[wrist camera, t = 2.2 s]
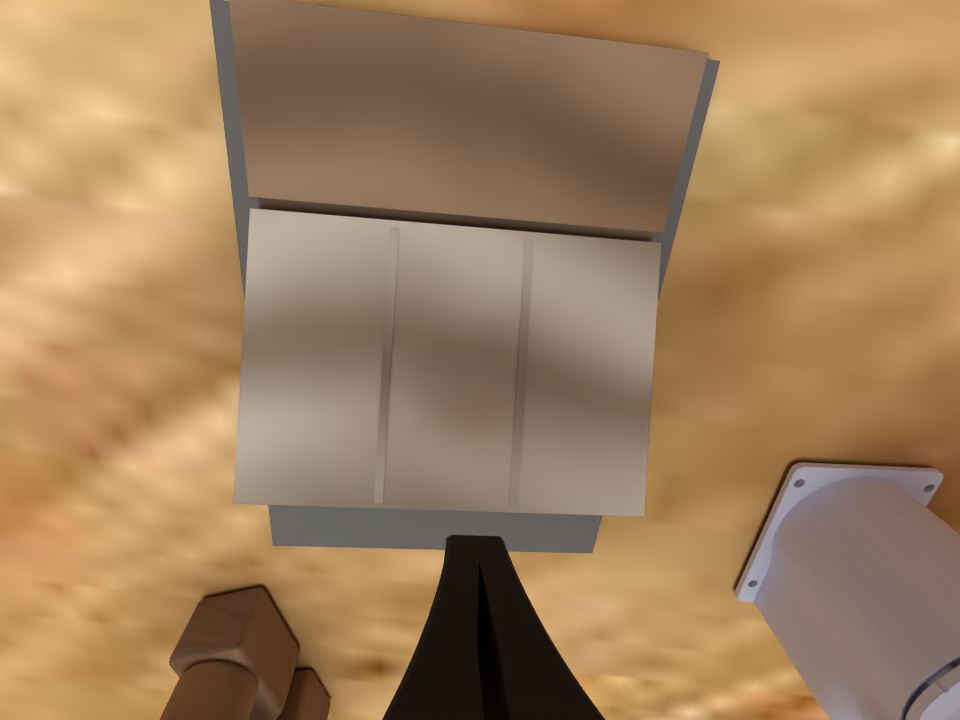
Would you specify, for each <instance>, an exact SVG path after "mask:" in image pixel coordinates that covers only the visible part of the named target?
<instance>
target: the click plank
mask: <svg viewBox="0 0 960 720" xmlns="http://www.w3.org/2000/svg"><path fill="white" fill-rule="evenodd" d="M660 254H661V243H655V242H643V241H631V240H620V239H608V238H596V237H584V236H572V235H560V234H548V233H537V232H525V231H513V230H501V229H489V228H477V227H466V226H454V225H442V224H430V223H418V222H406V221H394V220H383V219H371V218H359V217H347V216H335V215H323V214H312V213H300V212H288V211H276V210H264V209H252V208H250V218H249V235H248V253H247V270H246V288H245V306H244V323H243V341H242V358H241V376H240V393H239V411H238V428H237V446H236V464H235V481H234V499H233V504H258V505H290V506H322V507H353V508H385V509H417V510H448V511H480V512H512V513H543V514H575V515H607V516H638V517H644V508H645V492H646V476H647V460H648V444H649V428H650V412H651V397H652V381H653V365H654V349H655V333H656V317H657V301H658V285H659V270H660Z"/></svg>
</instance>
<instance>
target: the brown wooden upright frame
mask: <svg viewBox="0 0 960 720" xmlns="http://www.w3.org/2000/svg"><path fill="white" fill-rule="evenodd" d="M298 655H299V648H298V646H297V644H296V643H295V641H294V639H293V637H292V636H291V634H290V632H289V631H288V629H287V627H286V625H285V624H284V622H283V620H282V619H281V617H280V615H279V614H278V612H277V610H276V608H275V607H274V605H273V603H272V602H271V600H270V598H269V597H268V595H267V593H266V591H265V590H264V589H263V588H260V587H258V588H253V589H248V590H243V591H238V592H233V593H228V594H223V595H218V596H213V597H208V598H204V599H202V600H201V601H200V602H199V603H198V605H197V607H196V609H195V611H194V613H193V615H192V617H191V619H190V621H189V623H188V624H187V626H186V628H185V630H184V632H183V634H182V636H181V638H180V640H179V642H178V644H177V646H176V648H175V649H174V651H173V653H172V655H171V657H170V661H169V663H170V666H171V668H172V669H173V670H174V671H175V673H176V674H177V675H178V676H179V678H180V679H179V681H178V683H177V685H176V687H175V689H174V691H173V693H172V695H171V697H170V699H169V701H168V703H167V705H166V707H165V709H164V711H163V714H162V716H161V718H160V720H327V717H328V713H329V708H330V699H329V697H328V696H327V694H326V692H325V690H324V689H323V687H322V685H321V684H320V682H319V680H318V679H317V677H316V675H315V673H314V672H313V671H312V670H310V669H305V670H300V671H294V669H295V666H296V662H297V658H298Z"/></svg>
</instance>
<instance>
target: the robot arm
mask: <svg viewBox="0 0 960 720" xmlns="http://www.w3.org/2000/svg"><path fill="white" fill-rule="evenodd" d="M797 480H798V481H797ZM942 480H943V474H942V473H941V472H939V471H938V470H937V469H934V468H917V467H894V466H871V465H848V464H824V463H797V464H795V465H793V466H792V467H791V468H790V470H789V472H788V474H787V477H786V479H785V481H784V483H783V485H782V488H781V490H780V492H779V494H778V497H777V499H776V501H775V503H774V505H773V508H772V510H771V512H770V514H769V517H768V519H767V521H766V523H765V526H764V528H763V530H762V532H761V534H760V537H759V539H758V541H757V543H756V546H755V548H754V550H753V552H752V554H751V557H750V559H749V561H748V563H747V566H746V568H745V570H744V572H743V575H742V577H741V579H740V581H739V583H738V586H737V588H736V590H735V595H736V597H737V598H738V600H739V601H742V602H754V603H755V605H756V606H757V608H758V609H759V611H760V613H761V614H762V616H763V617H764V619H765V620H766V622H767V624H768V625H769V627H770V628H771V630H772V631H773V633H774V635H775V636H776V638H777V639H778V641H779V642H780V644H781V646H782V647H783V649H784V650H785V652H786V653H787V655H788V657H789V658H790V660H791V661H792V663H793V664H794V666H795V668H796V669H797V671H798V672H799V674H800V675H801V677H802V679H803V680H804V682H805V683H806V685H807V686H808V688H809V690H810V691H811V693H812V694H813V696H814V698H815V699H816V701H817V702H818V703H819V705H820V706H821V708H822V709H823V710H824V712H825V713H826V714H827V715H828V716H829V717H830V718H831V720H960V534H959V533H958V532H956V531H955V530H954V529H953V528H951V527H950V526H949V525H948V524H947V523H945V522H944V521H943V520H942V519H940V518H939V517H938V516H937V515H935V514H934V513H933V512H932V511H930V510H929V509H928V508H927V507H926V506H927V505H928V503H929V501H930V500H931V498H932V497H933V495H934V493H935V492H936V490H937V488H938V487H939V485H940V484H941V482H942ZM382 720H605V718H604V717H603V716H602V715H601V713H600V712H599V711H598V709H597V708H596V707H595V705H594V704H593V702H592V701H591V700H590V698H589V697H588V696H587V694H586V693H585V691H584V690H583V689H582V687H581V686H580V684H579V683H578V681H577V680H576V678H575V677H574V675H573V674H572V672H571V671H570V669H569V668H568V666H567V665H566V663H565V662H564V660H563V658H562V657H561V655H560V654H559V652H558V650H557V649H556V647H555V645H554V644H553V642H552V640H551V639H550V637H549V635H548V634H547V632H546V630H545V628H544V627H543V625H542V623H541V621H540V619H539V618H538V616H537V614H536V612H535V610H534V608H533V606H532V604H531V602H530V600H529V598H528V596H527V594H526V592H525V590H524V588H523V586H522V584H521V582H520V580H519V577H518V575H517V573H516V571H515V569H514V566H513V564H512V561H511V559H510V556H509V554H508V551H507V549H506V546H505V543H504V540H503V539H502V538H501V537H500V536H477V535H450V536H449V537H447V538H446V547H445V557H444V565H443V569H442V573H441V577H440V581H439V585H438V588H437V591H436V595H435V598H434V601H433V604H432V607H431V610H430V613H429V616H428V619H427V621H426V624H425V627H424V629H423V632H422V634H421V637H420V640H419V642H418V645H417V647H416V650H415V652H414V654H413V657H412V659H411V661H410V664H409V666H408V668H407V670H406V672H405V675H404V677H403V679H402V681H401V683H400V685H399V687H398V689H397V691H396V693H395V695H394V697H393V699H392V701H391V703H390V705H389V707H388V709H387V711H386V713H385V715H384V717H383V719H382Z"/></svg>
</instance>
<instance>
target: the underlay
mask: <svg viewBox="0 0 960 720" xmlns="http://www.w3.org/2000/svg"><path fill="white" fill-rule="evenodd" d="M210 9H211V17H212V26H213V34H214V43H215V51H216V60H217V69H218V77H219V86H220V94H221V103H222V111H223V120H224V129H225V137H226V146H227V154H228V163H229V171H230V180H231V189H232V197H233V206H234V214H235V223H236V231H237V240H238V249H239V257H240V266H241V274H242V283H243V291H244V300H245V288H246V270H247V253H248V235H249V218H250V208H252V209H259V203H258V197H249V192H248V182H247V172H246V163H245V153H244V143H243V133H242V124H241V114H240V104H239V95H238V85H237V75H236V65H235V56H234V46H233V36H232V26H231V17H230V7H229V2H228V1H220V0H210ZM719 64H720V61H716V60H708V59H707V61H706V65H705V69H704V73H703V77H702V81H701V85H700V89H699V93H698V97H697V101H696V105H695V109H694V113H693V117H692V121H691V125H690V129H689V133H688V137H687V141H686V145H685V149H684V153H683V157H682V161H681V165H680V169H679V173H678V177H677V181H676V185H675V189H674V193H673V197H672V201H671V205H670V209H669V213H668V217H667V221H666V225H665V229H664V232H654V234H653V239H652V242H655V243H661V254H660V270H659V285H658V298H659V295H660V291H661V287H662V283H663V279H664V275H665V271H666V268H667V264H668V260H669V256H670V252H671V248H672V245H673V241H674V237H675V233H676V229H677V225H678V221H679V218H680V214H681V210H682V206H683V202H684V198H685V195H686V191H687V187H688V183H689V179H690V175H691V171H692V168H693V164H694V160H695V156H696V152H697V148H698V145H699V141H700V137H701V133H702V129H703V125H704V121H705V118H706V114H707V110H708V106H709V102H710V98H711V95H712V91H713V87H714V83H715V79H716V75H717V71H718V68H719ZM657 302H658V301H657ZM268 506H269V514H270V523H271V531H272V540H273V546H313V547H355V548H396V549H437V550H445V547H446V538H447V537H449V536H450V535H477V536H500V537H501V538H502V539H503V540H504V543H505V546H506V549H507V551H519V552H560V553H592V552H593V548H594V545H595V541H596V537H597V533H598V529H599V525H600V522H601V518H602V515H575V514H543V513H512V512H480V511H448V510H417V509H385V508H353V507H322V506H290V505H268Z"/></svg>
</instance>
